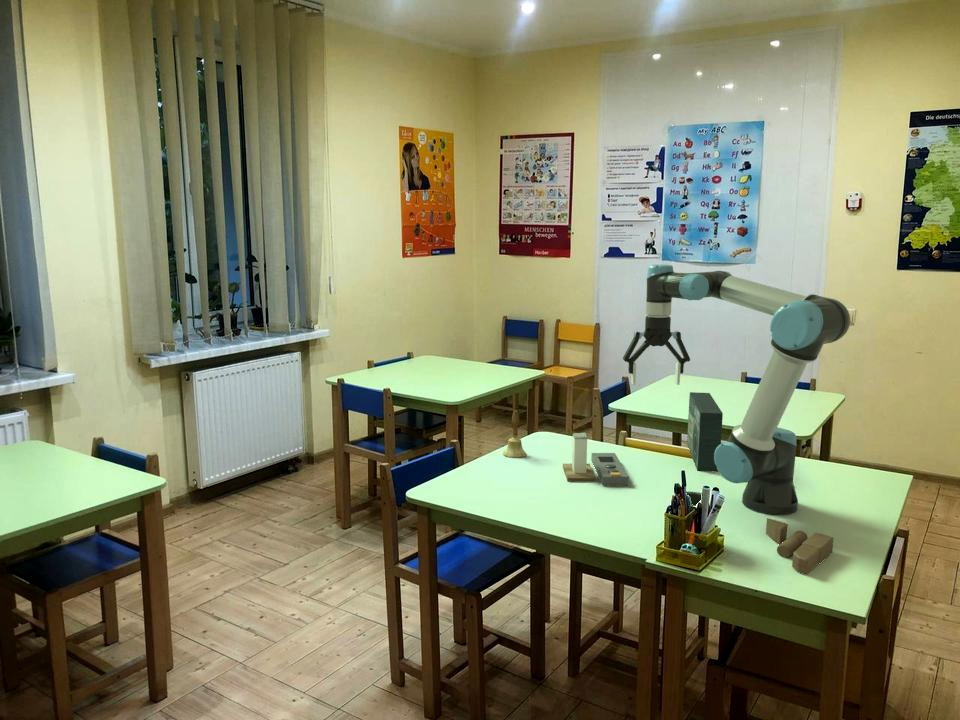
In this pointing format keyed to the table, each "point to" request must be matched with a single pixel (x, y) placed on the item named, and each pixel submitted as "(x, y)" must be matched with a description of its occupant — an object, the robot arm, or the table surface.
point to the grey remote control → (609, 469)
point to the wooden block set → (804, 555)
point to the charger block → (579, 453)
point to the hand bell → (514, 440)
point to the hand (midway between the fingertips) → (655, 383)
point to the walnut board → (578, 474)
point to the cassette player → (704, 430)
